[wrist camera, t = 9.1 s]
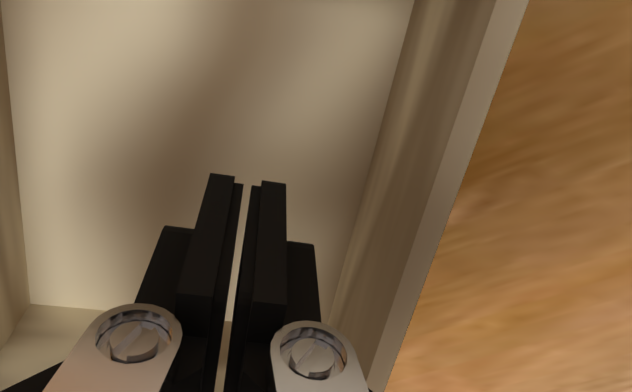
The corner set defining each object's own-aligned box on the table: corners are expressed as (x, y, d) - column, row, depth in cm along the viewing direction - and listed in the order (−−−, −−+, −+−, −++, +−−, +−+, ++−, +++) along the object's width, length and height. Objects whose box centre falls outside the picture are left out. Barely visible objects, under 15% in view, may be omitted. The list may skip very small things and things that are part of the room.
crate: (447, -64, 13) (550, -58, 9) (335, 331, 20) (357, 464, 15) (-32, -174, 12) (-261, -247, 7) (21, 303, 18) (-73, 445, 13)
